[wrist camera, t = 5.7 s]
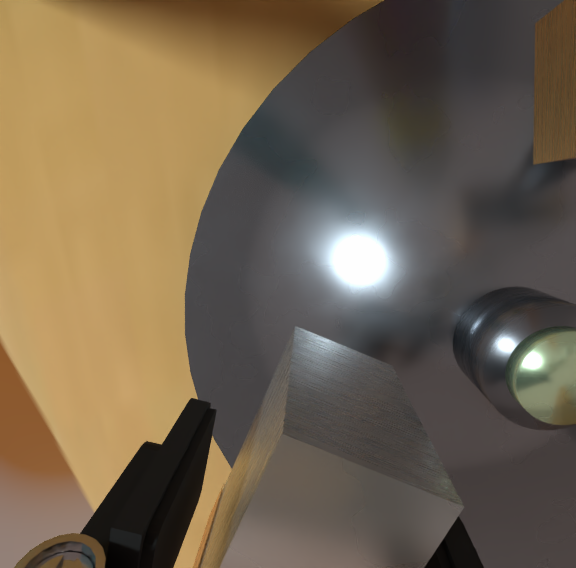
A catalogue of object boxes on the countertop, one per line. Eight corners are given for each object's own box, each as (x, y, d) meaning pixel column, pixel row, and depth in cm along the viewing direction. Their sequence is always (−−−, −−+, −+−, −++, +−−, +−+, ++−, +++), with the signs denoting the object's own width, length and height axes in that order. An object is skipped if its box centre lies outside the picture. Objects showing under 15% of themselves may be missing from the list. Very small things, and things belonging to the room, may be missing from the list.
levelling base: (914, -101, 10) (1314, -302, 6) (781, 557, 15) (952, 685, 11) (136, 46, 12) (50, -33, 8) (244, 580, 17) (225, 695, 13)
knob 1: (297, 299, 13) (279, 434, 5) (376, 332, 13) (468, 511, 5) (227, 459, 14) (139, 732, 7) (298, 487, 14) (285, 785, 7)
